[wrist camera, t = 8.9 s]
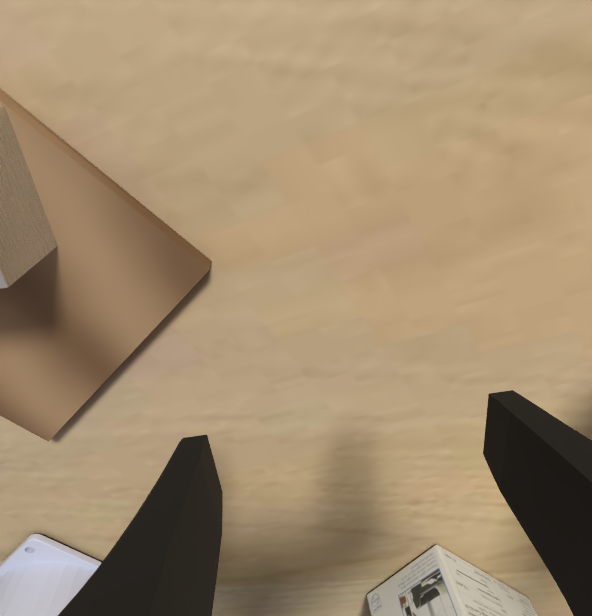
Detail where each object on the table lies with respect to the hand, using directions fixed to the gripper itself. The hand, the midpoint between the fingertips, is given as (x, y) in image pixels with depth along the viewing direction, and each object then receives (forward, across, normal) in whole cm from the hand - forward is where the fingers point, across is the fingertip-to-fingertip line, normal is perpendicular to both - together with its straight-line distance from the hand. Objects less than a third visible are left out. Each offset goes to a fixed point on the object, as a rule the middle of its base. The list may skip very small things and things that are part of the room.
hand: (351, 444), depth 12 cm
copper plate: (+10, +12, -3) cm, 16 cm away
